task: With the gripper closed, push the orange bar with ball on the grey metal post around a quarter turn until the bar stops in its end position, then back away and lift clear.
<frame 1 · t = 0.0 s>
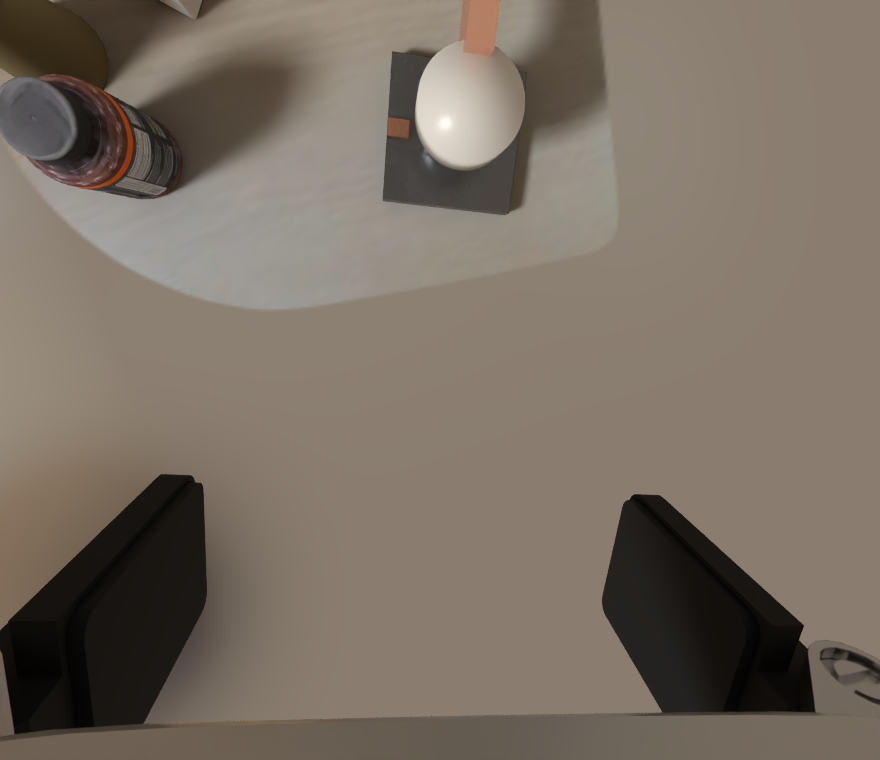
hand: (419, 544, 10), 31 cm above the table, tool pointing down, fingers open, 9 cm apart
coupling base: (451, 141, 37), on the table
cork: (64, 58, 33), on the table
orange bar with ball: (478, 19, 27), point 9 cm above the table, hinge at 0.0°
supplement bottle: (144, 159, 35), on the table
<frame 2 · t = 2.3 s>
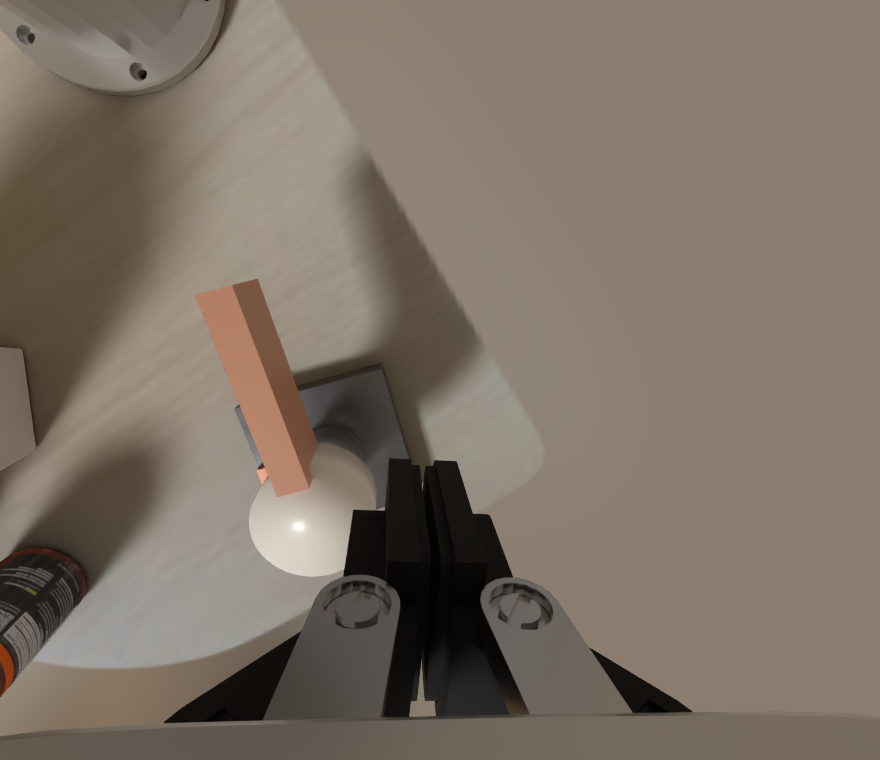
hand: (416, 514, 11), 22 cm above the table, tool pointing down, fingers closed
coupling base: (334, 446, 34), on the table
orange bar with ball: (286, 437, 24), point 9 cm above the table, hinge at 0.0°
supplement bottle: (48, 576, 34), on the table
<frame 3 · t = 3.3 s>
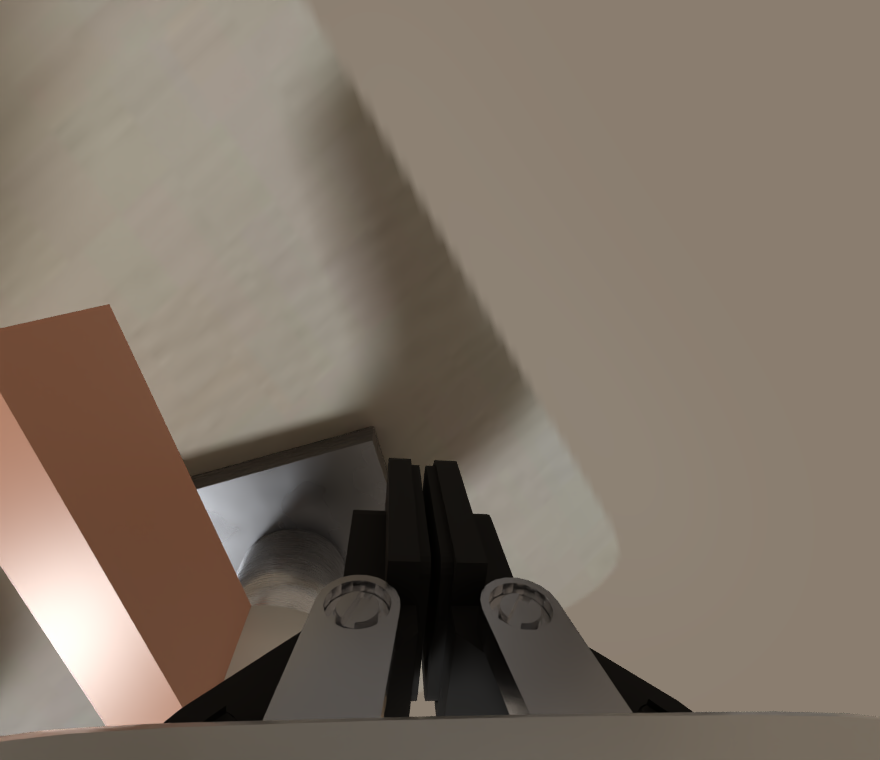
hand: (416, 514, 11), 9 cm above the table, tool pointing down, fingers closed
coupling base: (299, 551, 22), on the table
orange bar with ball: (175, 626, 12), point 9 cm above the table, hinge at 0.0°
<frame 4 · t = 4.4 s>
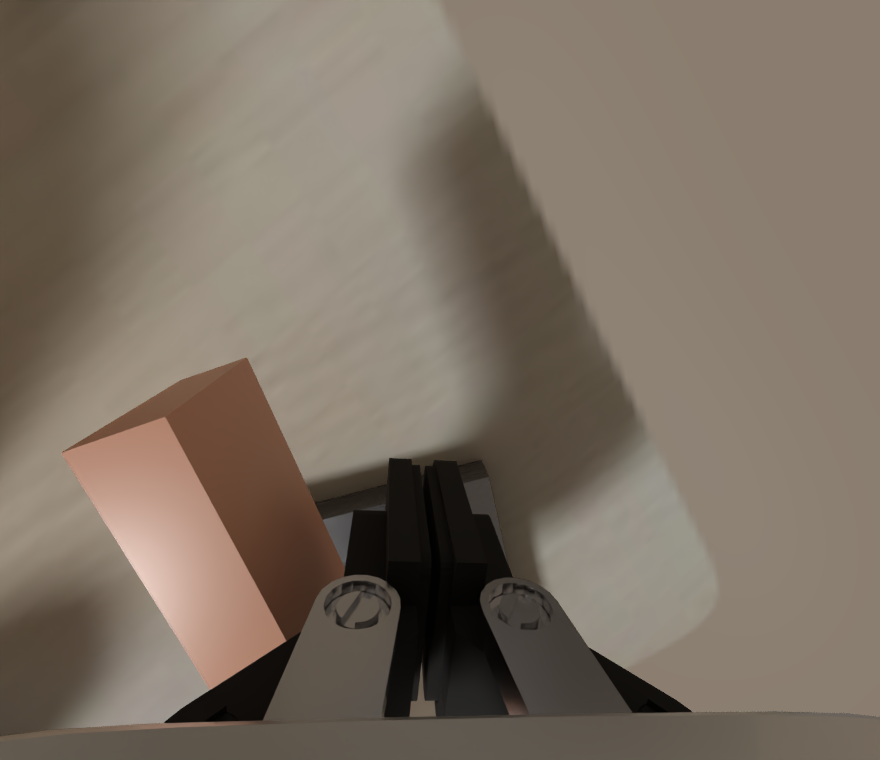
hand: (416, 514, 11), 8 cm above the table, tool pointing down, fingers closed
coupling base: (395, 586, 21), on the table
orange bar with ball: (332, 694, 11), point 9 cm above the table, hinge at 5.4°, touching gripper
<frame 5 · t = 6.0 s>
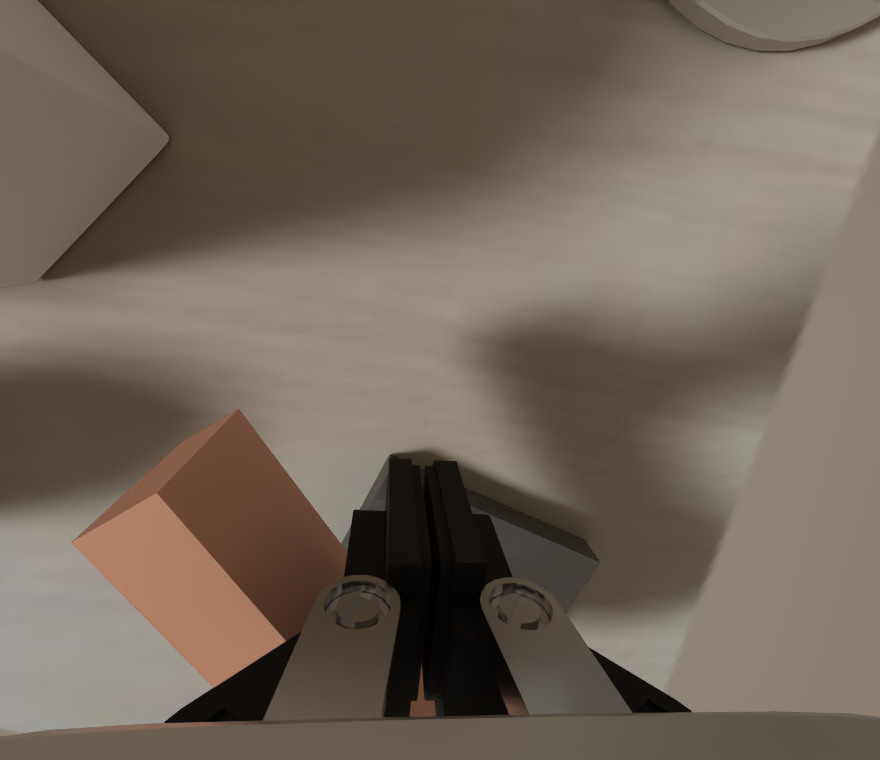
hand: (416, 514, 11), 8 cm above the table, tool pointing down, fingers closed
milk carton: (14, 127, 15), on the table
coupling base: (439, 589, 21), on the table
orange bar with ball: (381, 710, 11), point 9 cm above the table, hinge at 57.6°, touching gripper
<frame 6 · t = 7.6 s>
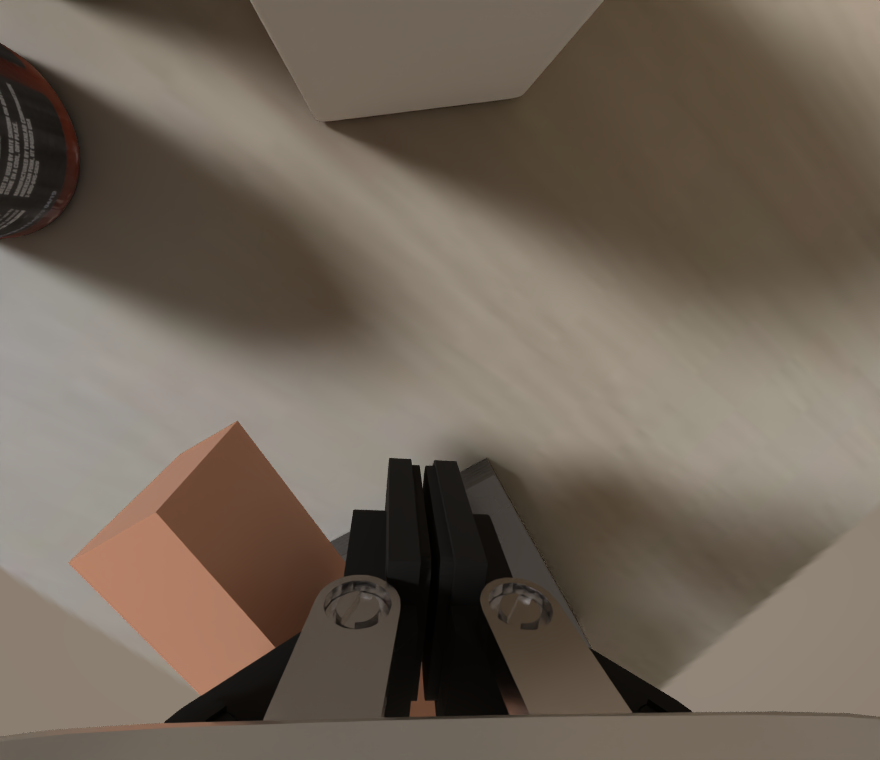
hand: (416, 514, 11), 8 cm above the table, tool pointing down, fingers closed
coupling base: (438, 597, 21), on the table
orange bar with ball: (381, 725, 11), point 9 cm above the table, hinge at 91.4°, touching gripper
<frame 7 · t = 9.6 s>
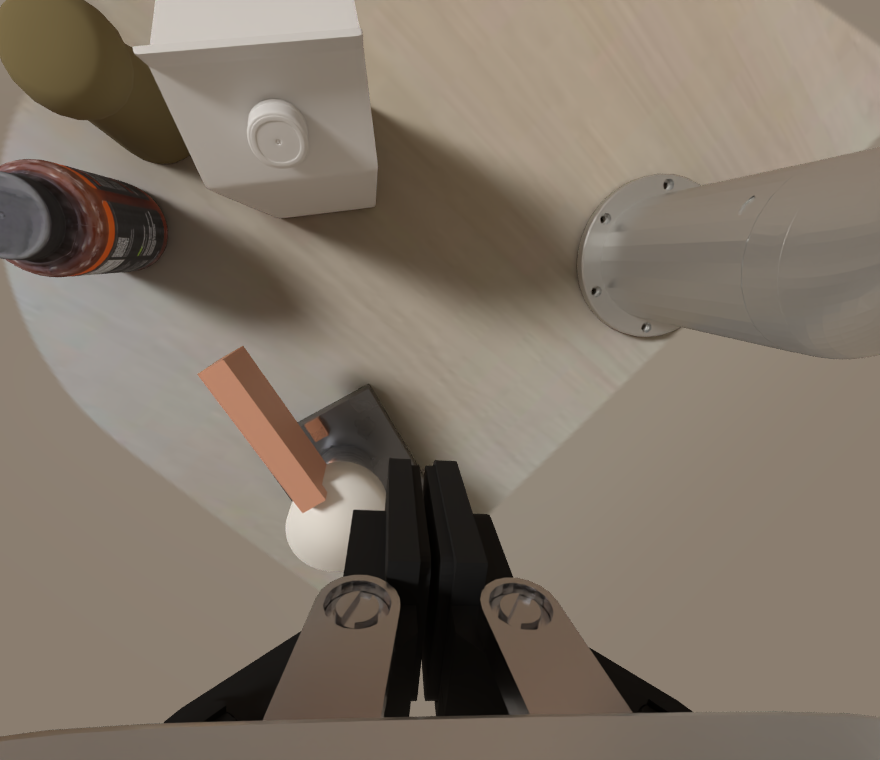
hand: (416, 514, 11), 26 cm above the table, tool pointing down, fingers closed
milk carton: (317, 160, 33), on the table
coupling base: (346, 462, 39), on the table
cork: (156, 115, 31), on the table
orange bar with ball: (298, 464, 29), point 9 cm above the table, hinge at 91.4°
supplement bottle: (126, 228, 32), on the table
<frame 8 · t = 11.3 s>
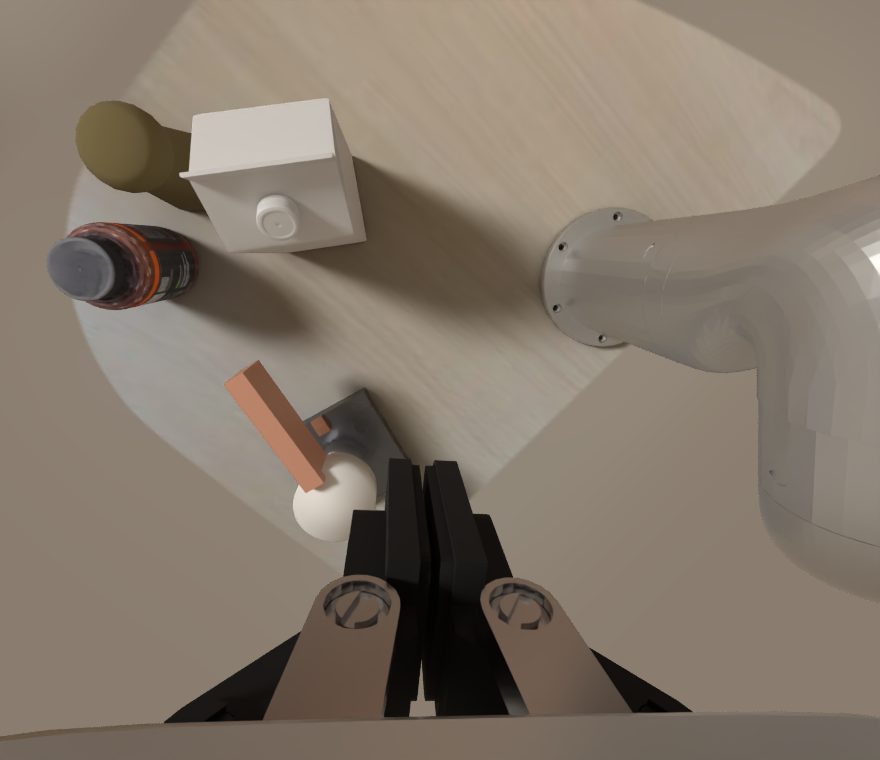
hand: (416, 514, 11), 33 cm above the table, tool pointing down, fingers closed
milk carton: (318, 204, 40), on the table
coupling base: (346, 453, 46), on the table
cork: (189, 172, 38), on the table
orange bar with ball: (303, 454, 36), point 9 cm above the table, hinge at 91.4°
supplement bottle: (165, 263, 40), on the table
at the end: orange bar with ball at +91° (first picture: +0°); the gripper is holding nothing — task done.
